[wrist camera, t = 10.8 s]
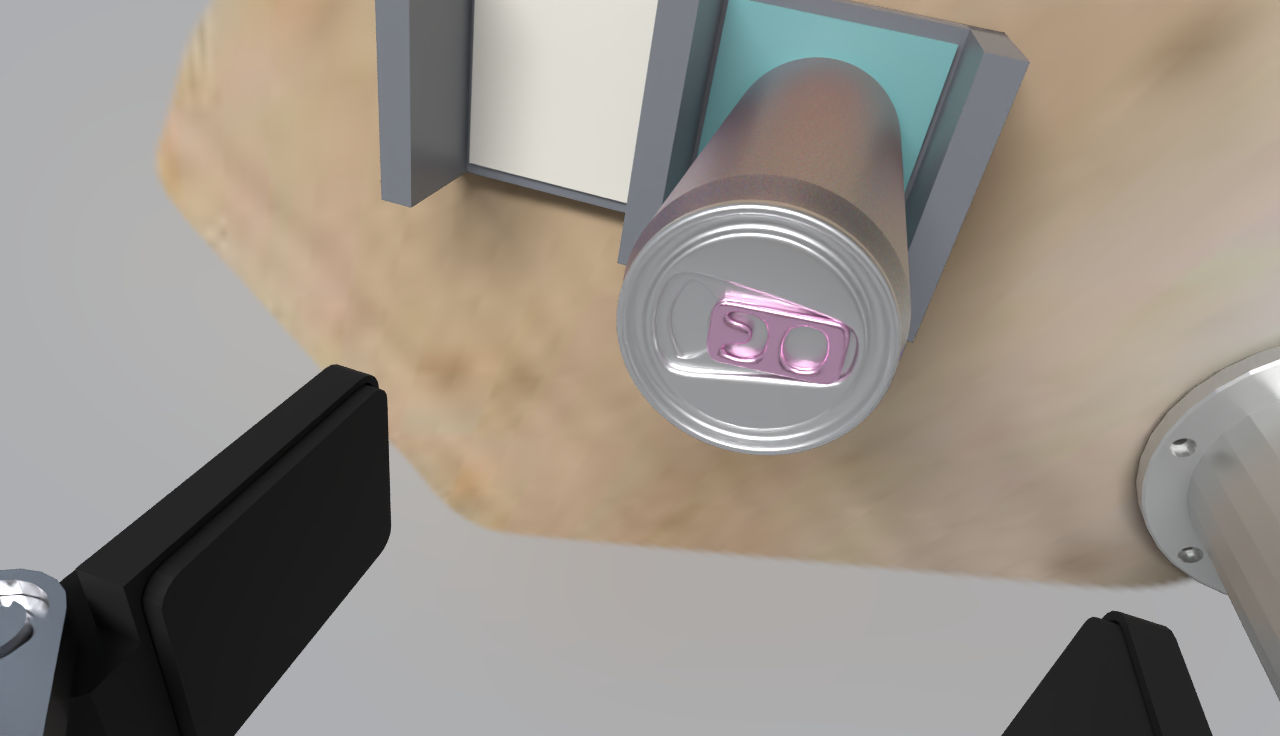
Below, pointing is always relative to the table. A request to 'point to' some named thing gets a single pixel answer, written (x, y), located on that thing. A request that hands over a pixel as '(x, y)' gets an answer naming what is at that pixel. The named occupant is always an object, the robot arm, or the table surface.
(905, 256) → the beverage can
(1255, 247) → the table surface
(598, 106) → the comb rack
